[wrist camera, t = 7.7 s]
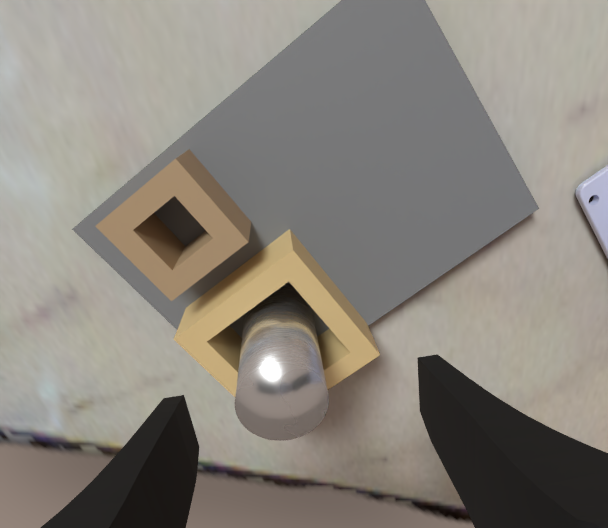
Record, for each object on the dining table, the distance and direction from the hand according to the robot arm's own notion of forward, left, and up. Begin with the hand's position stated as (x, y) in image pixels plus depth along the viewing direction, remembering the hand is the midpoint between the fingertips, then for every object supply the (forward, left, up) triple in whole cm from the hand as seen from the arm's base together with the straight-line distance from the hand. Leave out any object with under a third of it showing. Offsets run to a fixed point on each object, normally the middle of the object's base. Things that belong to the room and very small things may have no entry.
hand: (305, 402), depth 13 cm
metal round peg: (-1, +2, -9) cm, 9 cm away
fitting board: (+2, -3, -10) cm, 10 cm away
